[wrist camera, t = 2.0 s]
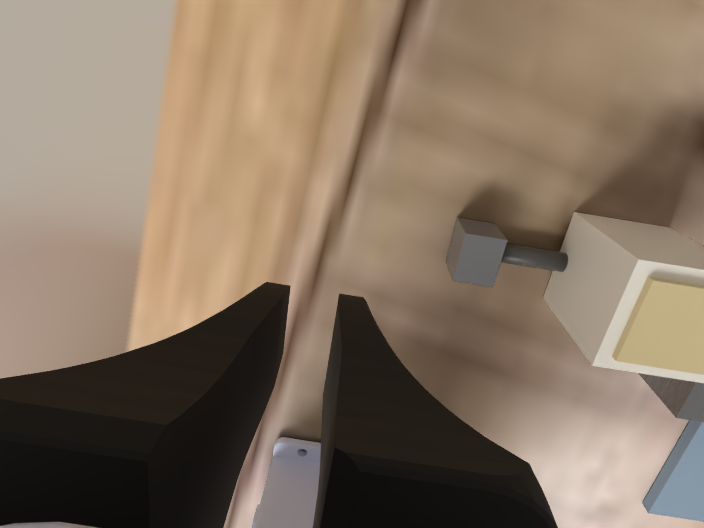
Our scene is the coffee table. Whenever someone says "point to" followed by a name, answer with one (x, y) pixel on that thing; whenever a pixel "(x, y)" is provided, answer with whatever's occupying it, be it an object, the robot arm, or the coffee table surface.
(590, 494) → the coffee table surface
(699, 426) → the mat
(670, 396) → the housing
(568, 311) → the wall lamp
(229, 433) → the robot arm
